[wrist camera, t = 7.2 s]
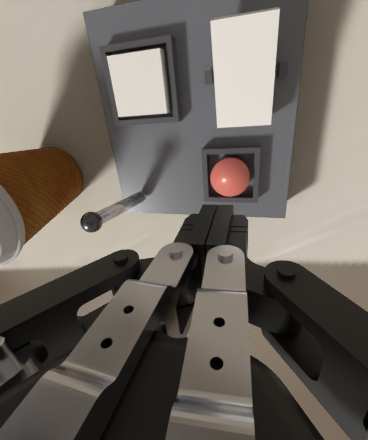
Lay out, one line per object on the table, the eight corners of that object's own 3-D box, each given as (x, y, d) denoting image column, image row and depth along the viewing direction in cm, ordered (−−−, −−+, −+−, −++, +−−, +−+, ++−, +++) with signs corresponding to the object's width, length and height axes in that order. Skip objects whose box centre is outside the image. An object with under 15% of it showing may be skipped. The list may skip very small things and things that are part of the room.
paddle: (114, 57, 19) (106, 56, 18) (165, 50, 18) (159, 48, 17) (125, 115, 21) (118, 117, 20) (171, 111, 19) (167, 113, 18)
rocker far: (214, 18, 15) (210, 20, 14) (278, 6, 14) (279, 8, 13) (220, 119, 19) (217, 127, 18) (270, 116, 18) (271, 124, 17)
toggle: (136, 185, 24) (73, 215, 19) (149, 187, 23) (86, 219, 18) (139, 201, 24) (79, 233, 20) (152, 203, 24) (92, 238, 19)
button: (212, 155, 20) (209, 159, 19) (250, 154, 19) (250, 159, 18) (213, 190, 22) (211, 196, 21) (249, 191, 21) (248, 196, 20)
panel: (104, 20, 21) (70, 7, 17) (304, -19, 17) (317, -48, 13) (138, 200, 28) (119, 218, 24) (282, 203, 24) (286, 226, 20)
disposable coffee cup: (37, 112, 26) (-104, 131, 16) (110, 173, 27) (21, 227, 17) (14, 175, 31) (-106, 221, 21) (76, 225, 32) (-9, 291, 22)
